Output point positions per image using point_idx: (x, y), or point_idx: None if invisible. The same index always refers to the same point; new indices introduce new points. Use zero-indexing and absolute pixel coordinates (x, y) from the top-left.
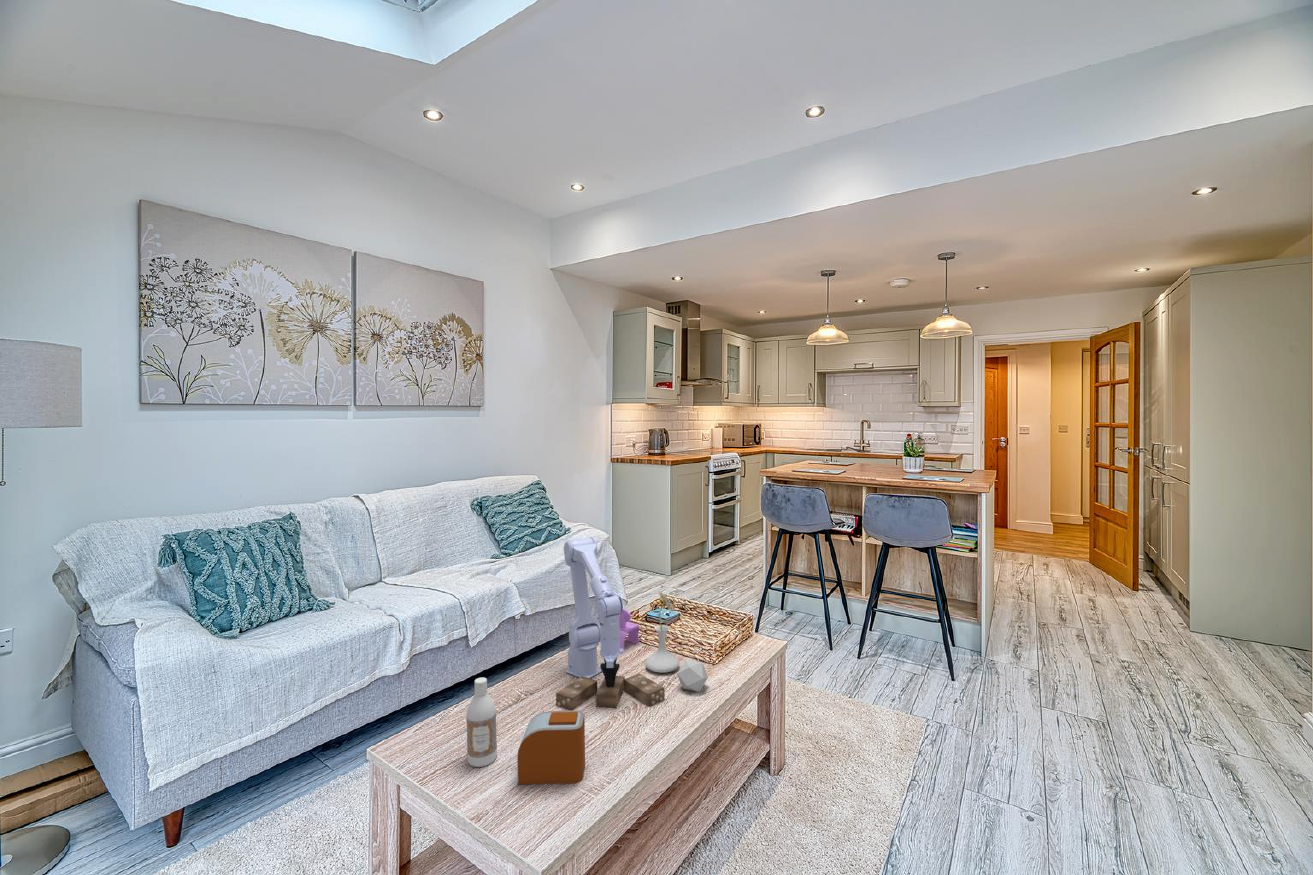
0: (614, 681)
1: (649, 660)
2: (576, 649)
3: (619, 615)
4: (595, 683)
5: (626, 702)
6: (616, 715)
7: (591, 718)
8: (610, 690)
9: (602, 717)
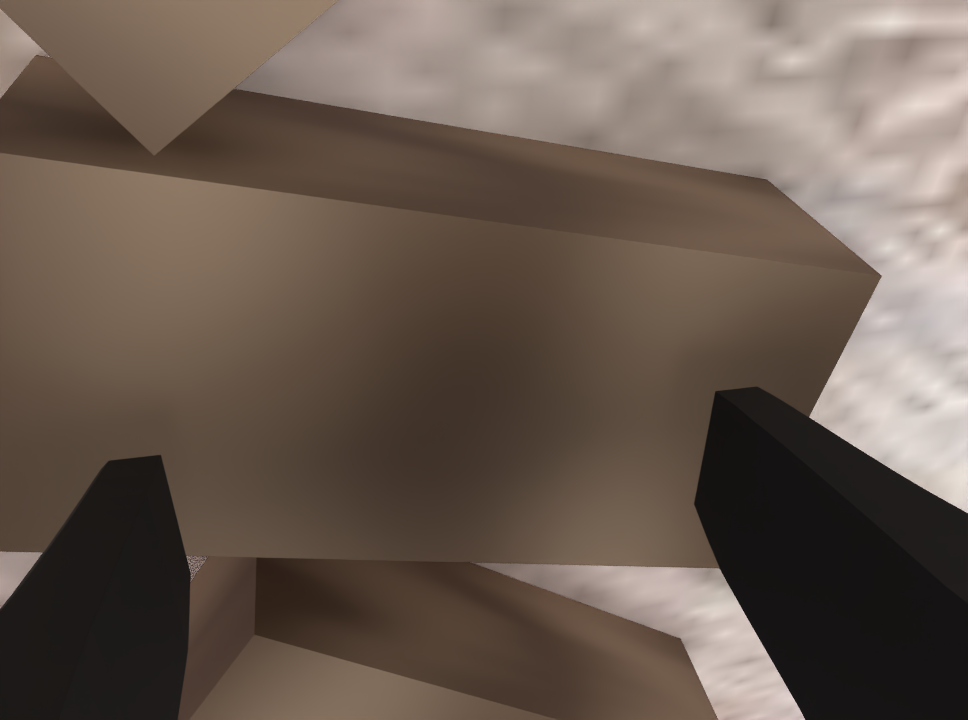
0: (853, 454)
1: None
2: None
3: None
4: (300, 623)
5: (622, 8)
6: (951, 163)
7: (895, 448)
8: (649, 389)
9: (924, 337)
